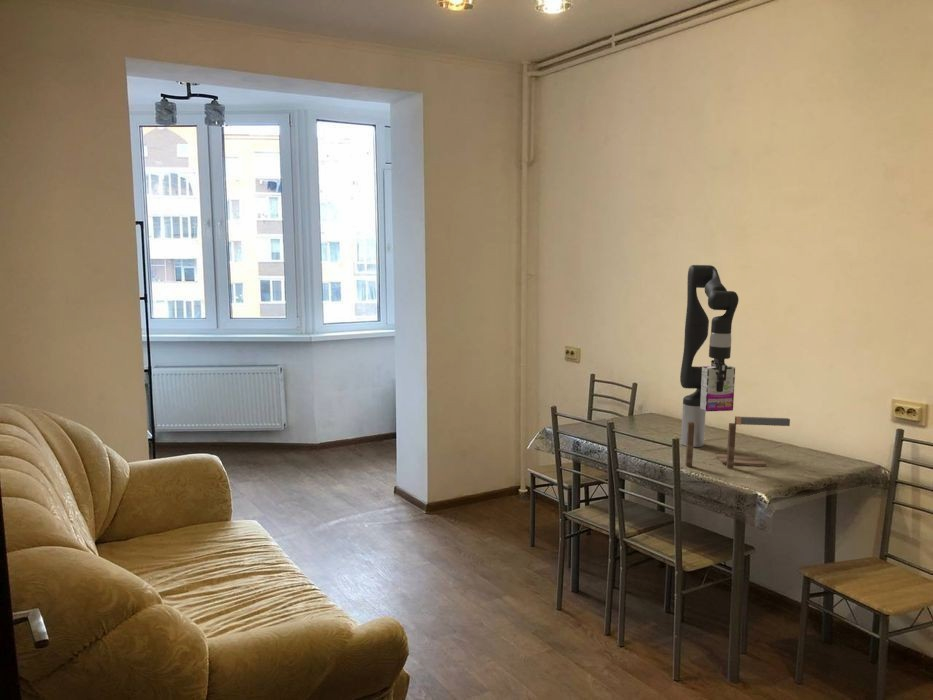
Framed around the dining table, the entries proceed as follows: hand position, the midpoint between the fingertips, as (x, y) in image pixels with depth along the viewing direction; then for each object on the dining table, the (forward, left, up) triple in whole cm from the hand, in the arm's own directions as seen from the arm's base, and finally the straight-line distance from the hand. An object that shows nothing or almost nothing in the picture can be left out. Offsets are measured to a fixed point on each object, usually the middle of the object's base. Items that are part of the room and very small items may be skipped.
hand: (717, 389), depth 264 cm
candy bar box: (0, 0, -8) cm, 8 cm away
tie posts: (+2, -2, -29) cm, 29 cm away
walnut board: (-8, +12, -29) cm, 33 cm away
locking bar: (+2, +16, -12) cm, 20 cm away
